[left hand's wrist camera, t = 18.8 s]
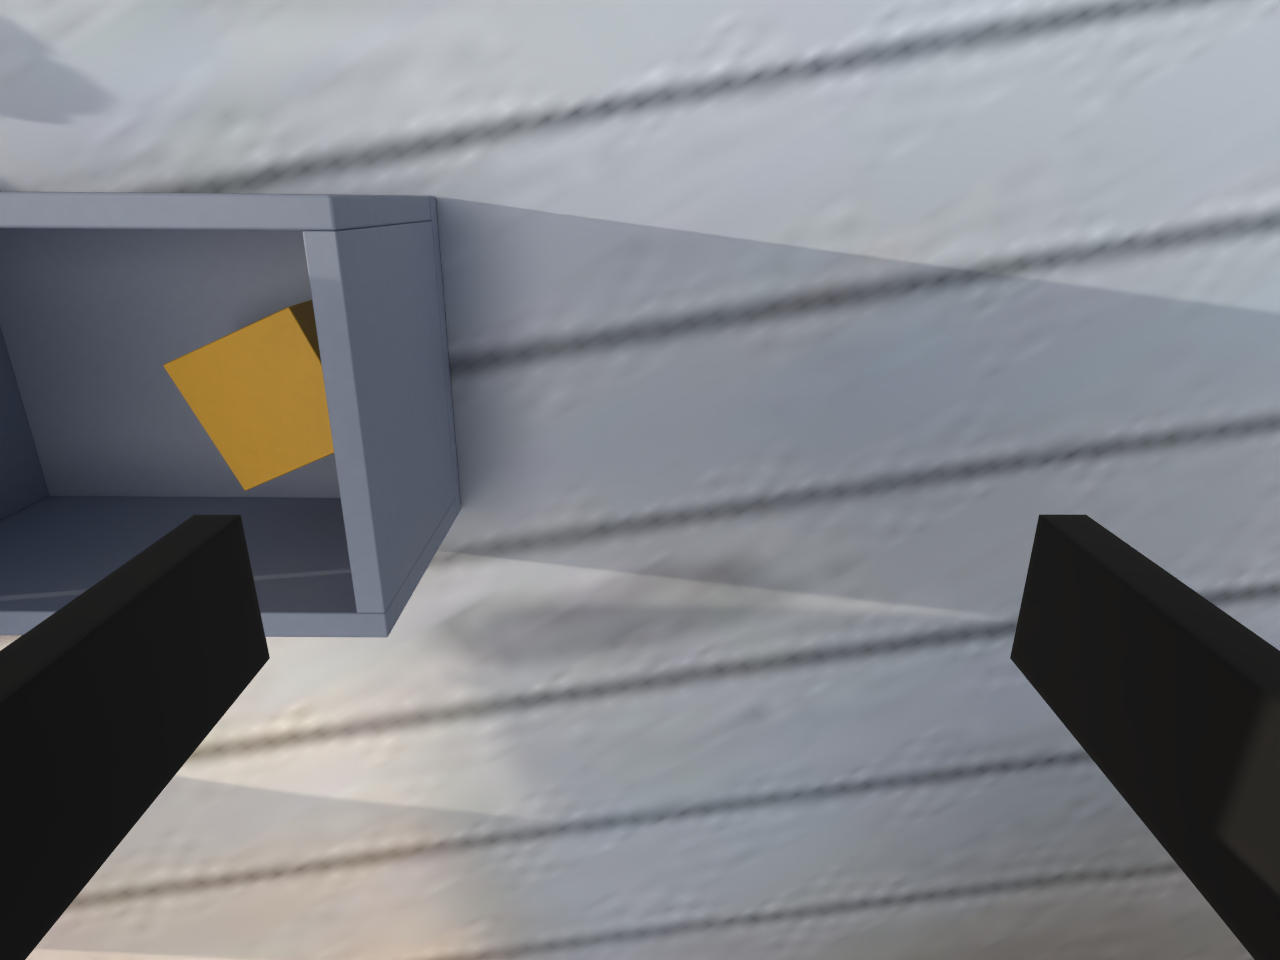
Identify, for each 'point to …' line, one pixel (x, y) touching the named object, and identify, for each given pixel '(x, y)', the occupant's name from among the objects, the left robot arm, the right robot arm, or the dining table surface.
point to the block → (261, 395)
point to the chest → (168, 428)
